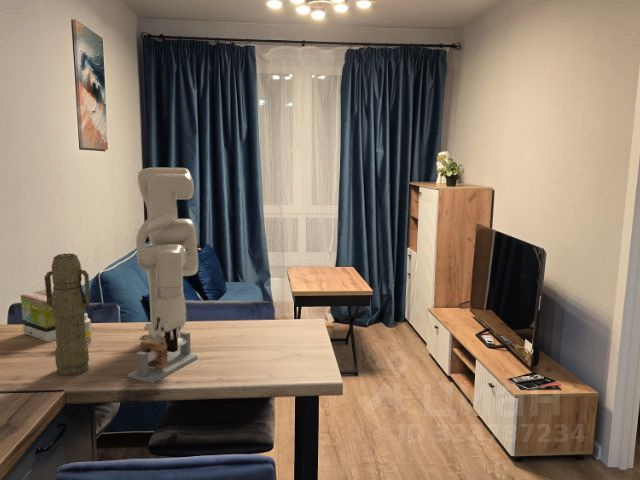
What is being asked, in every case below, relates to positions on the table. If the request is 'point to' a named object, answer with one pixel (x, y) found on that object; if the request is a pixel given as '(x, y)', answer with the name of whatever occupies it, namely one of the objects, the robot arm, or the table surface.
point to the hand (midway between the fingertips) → (171, 350)
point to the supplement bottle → (87, 329)
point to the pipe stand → (174, 359)
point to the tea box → (38, 316)
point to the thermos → (69, 313)
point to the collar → (161, 353)
